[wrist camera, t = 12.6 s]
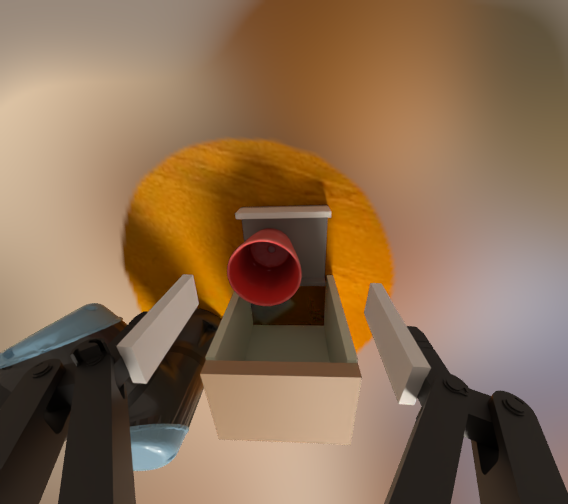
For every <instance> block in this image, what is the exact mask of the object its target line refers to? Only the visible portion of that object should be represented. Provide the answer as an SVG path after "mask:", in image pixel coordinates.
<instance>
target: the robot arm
mask: <svg viewBox="0 0 568 504" xmlns="http://www.w3.org/2000/svg"><path fill="white" fill-rule="evenodd" d="M198 305H199V302H198V297H197V292H196V287H195V282H194V277H193V275H186V274H183V275H182V276H181V277H180V278H179V280H178V281H177V282H176V283H175V284H174V285H173V286H172V287H171V288H170V289H169V290H168V291H167V292H166V293H165V295H164V296H163V297H162V298H161V299H160V300H159V301H158V302H157V303H156V304H155V305H154V306H153V307H152V308H151V309H150V311H149V312H145V311H144V312H142V313H141V314H139V315H137V316H136V317H135V318H134V319H133V320H132V321H131V322H130V323H129V325H127V324H126V323H125V322H123V321H122V320H123V318H121V317H118V316H116V315H115V314H114V313H113V312H111V311H110V310H109V309H108V308H106V307H105V306H103V305H101V304H98V303H92V304H87V305H85V306H83V307H81V308H79V309H77V310H75V311H73V312H71V313H70V314H68V315H66V316H64V317H63V318H61V319H59V320H57V321H55V322H54V323H52V324H50V325H48V326H46V327H45V328H43V329H41V330H39V331H38V332H36V333H34V334H32V335H30V336H29V337H27V338H25V339H23V340H22V341H20V342H18V343H16V344H15V345H13V346H11V347H9V348H8V349H6V350H4V351H3V352H1V353H0V504H39V502H40V500H41V497H42V495H43V492H44V490H45V488H46V485H47V483H48V480H49V478H50V475H51V473H52V470H53V468H54V465H55V463H56V461H57V458H58V456H59V453H60V450H61V448H62V446H63V443H64V442H65V441H66V440H67V442H66V450H65V457H64V465H63V471H62V479H61V487H60V494H59V501H58V504H136V500H135V488H134V476H133V471H146V470H153V469H157V468H160V467H163V466H165V465H167V464H168V463H169V462H171V461H172V460H173V459H174V457H175V456H176V455H177V453H178V451H179V448H180V446H181V444H182V442H183V440H184V438H185V435H186V434H187V432H188V431H189V426H190V423H191V420H192V418H193V415H194V412H195V410H196V407H197V404H198V402H199V399H200V397H201V394H202V391H203V389H204V386H203V382H202V379H201V376H200V373H201V371H202V368H203V366H204V364H205V361H206V358H205V357H206V354H207V352H208V350H209V348H210V345H211V343H212V341H213V338H214V336H215V334H216V332H217V329H218V327H219V325H220V323H221V319H220V318H218V317H217V316H216V315H214V314H212V313H210V312H208V311H206V310H202V309H198V308H197V306H198ZM364 314H365V317H366V319H367V322H368V325H369V327H370V330H371V333H372V335H373V338H374V340H375V343H376V346H377V348H378V351H379V353H380V356H381V359H382V362H383V364H384V367H385V369H386V372H387V374H388V377H389V380H390V382H391V385H392V388H393V391H394V393H395V396H396V398H397V401H398V403H399V404H409V405H415V402H416V400H417V398H418V399H419V401H420V404H421V406H422V407H421V409H420V411H419V413H418V416H417V418H416V422H415V425H414V427H413V430H412V433H411V435H410V438H409V440H408V443H407V445H406V448H405V451H404V453H403V456H402V459H401V461H400V464H399V466H398V469H397V471H396V474H395V477H394V479H393V482H392V485H391V487H390V490H389V492H388V495H387V498H386V500H385V503H384V504H450V503H451V498H452V494H453V488H454V483H455V478H456V473H457V468H458V463H459V457H460V453H461V448H462V442H463V437H466V438H468V439H471V443H472V450H473V457H474V463H475V470H476V476H477V483H478V489H479V496H480V503H481V504H568V492H567V490H566V488H565V485H564V483H563V480H562V478H561V476H560V473H559V471H558V468H557V466H556V464H555V461H554V458H553V456H552V453H551V451H550V448H549V446H548V444H547V441H546V439H545V436H544V434H543V432H542V429H541V426H540V424H539V422H538V419H537V417H536V415H535V413H534V412H533V410H532V409H531V408H530V407H529V406H528V405H527V404H526V403H525V402H524V401H523V400H521V399H520V398H518V397H517V396H515V395H513V394H511V393H508V392H505V391H496V392H495V393H493V395H492V396H489V395H486V394H483V393H480V392H478V391H475V390H472V389H469V388H468V386H467V385H466V384H465V383H464V382H463V381H462V380H461V379H459V378H458V377H456V376H454V375H452V374H450V373H449V371H448V370H447V368H446V367H445V365H444V364H443V362H442V360H441V359H440V358H439V356H438V354H437V353H436V351H435V350H434V349H433V347H432V345H431V344H430V343H429V341H428V339H427V338H426V336H425V335H424V333H422V332H421V331H420V330H419V329H418V328H417V327H412V326H406V325H405V323H404V321H403V319H402V318H401V316H400V314H399V313H398V311H397V309H396V307H395V306H394V304H393V302H392V301H391V299H390V297H389V296H388V294H387V292H386V290H385V289H384V287H383V285H382V284H379V283H370V288H369V293H368V297H367V302H366V307H365V311H364Z"/></svg>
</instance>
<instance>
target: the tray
mask: <svg viewBox="0 0 568 504" xmlns="http://www.w3.org/2000/svg"><path fill="white" fill-rule="evenodd" d="M235 217H236V219H242V226H243V234H244V242H245V241H246V240H247V239H248V238H250V237H251V236H252V235H254V234H255V233H257V232H258V231H260V230H262V229H267V228H273V229H277V230H280V231H282V232H283V233H284V234H286V235H287V236H288V238H289V239H290V241H291V243H292V246H293V248H294V250H295V252H296V254H297V257H298V259H299V262H300V265H301V271H302V277H301V283H300V286H325V285H326V282H325V259H326V239H327V219H328V217H331V210H330V208H329V207H328V205H303V206H261V207H241V208H240V209H239V210H238V211H237V212H236V213H235Z"/></svg>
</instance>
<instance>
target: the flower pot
mask: <svg viewBox="0 0 568 504" xmlns="http://www.w3.org/2000/svg"><path fill="white" fill-rule="evenodd" d="M227 275H228V279H229V282H230V285H231V287H232V288H233V290H234V291H235V292H236V293H237V294H238V295H239V296H240V297H241V298H242V299H244V300H245V301H247V302H249V303H252V304H255V305H260V306H274V305H278V304H281V303H284V302H286V301H287V300H289V299H290V298H291V297H292V296H293V295H294V294H295V293H296V292H297V290H298V288H299V286H300V283H301V277H302V271H301V265H300V262H299V259H298V257H297V254H296V252H295V250H294V248H293V246H292V243H291V241H290V239H289V238H288V236H287V235H286V234H284V233H283V232H282V231H280V230H277V229H273V228H267V229H262V230H260V231H258V232H257V233H255V234H254V235H252V236H251V237H250V238H248V239H247V240H246V241H245V242H244V243H242V244H241V245H240V246H239V247H238V248H237V249H236V250H235V251H234V252H233V254H232V255H231V257H230V259H229V262H228V266H227Z"/></svg>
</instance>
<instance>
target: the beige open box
mask: <svg viewBox="0 0 568 504" xmlns="http://www.w3.org/2000/svg"><path fill="white" fill-rule="evenodd" d="M205 358H206V361H205V364H204V366H203V368H202V371H201V373H200V376H201V379H202V382H203V386H204V389H205V393H206V396H207V400H208V403H209V407H210V410H211V413H212V417H213V420H214V424H215V427H216V430H217V434H218V437H219V439H222V440H247V441H270V442H294V443H318V444H343V445H350V444H351V439H352V433H353V426H354V421H355V415H356V409H357V403H358V398H359V392H360V386H361V380H362V377H361V373H360V370H359V366H358V358H357V355H356V351H355V348H354V345H353V341H352V338H351V335H350V331H349V328H348V324H347V321H346V318H345V314H344V311H343V308H342V304H341V301H340V298H339V294H338V291H337V287H336V284H335V281H334V277H333V275H327V276H326V295H325V314H324V326H311V325H253V318H252V310H251V303H249V302H247V301H245V300H244V299H242V298H241V297H240V296H239V295H238V294H237V293H236V292H235V291H234V293H233V295H232V298H231V300H230V302H229V304H228V307H227V309H226V311H225V314H224V316H223V318H222V320H221V323H220V325H219V327H218V329H217V332H216V334H215V336H214V338H213V341H212V343H211V345H210V348H209V350H208V352H207V354H206V357H205Z"/></svg>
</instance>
